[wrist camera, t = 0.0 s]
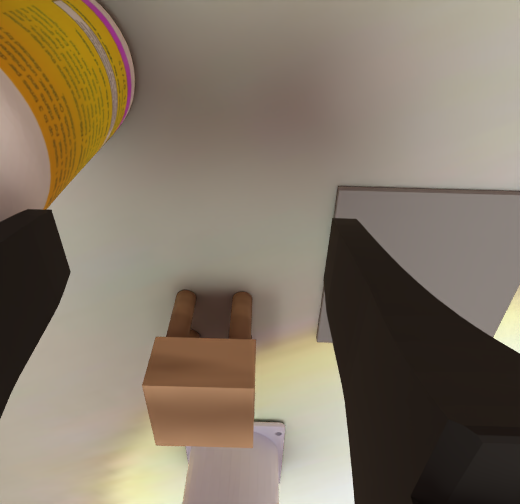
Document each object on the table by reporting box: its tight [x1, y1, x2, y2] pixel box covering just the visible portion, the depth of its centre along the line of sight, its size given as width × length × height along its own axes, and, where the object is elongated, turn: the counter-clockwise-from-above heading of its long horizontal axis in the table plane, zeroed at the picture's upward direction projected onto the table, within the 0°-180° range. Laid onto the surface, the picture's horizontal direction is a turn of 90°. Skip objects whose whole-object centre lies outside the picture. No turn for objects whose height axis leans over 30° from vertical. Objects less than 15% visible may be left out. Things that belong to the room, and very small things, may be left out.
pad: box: [316, 186, 520, 343], centre depth 25 cm, size 11×11×1 cm
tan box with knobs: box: [142, 290, 256, 448], centre depth 24 cm, size 5×5×7 cm
